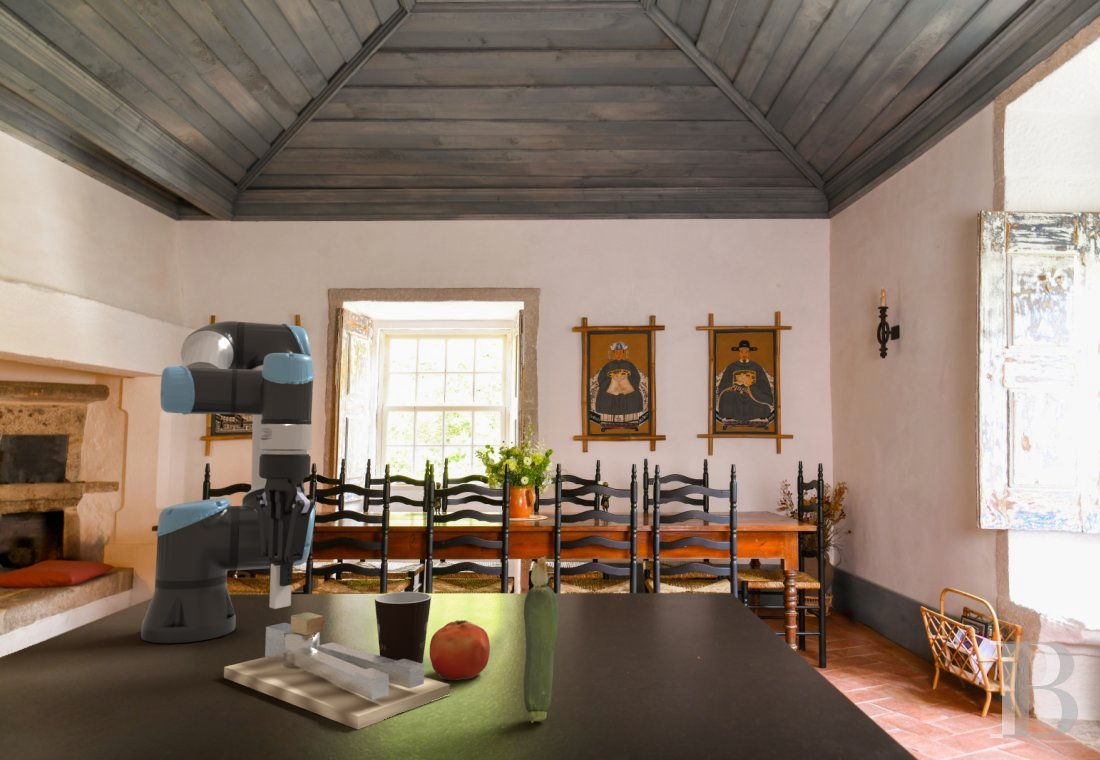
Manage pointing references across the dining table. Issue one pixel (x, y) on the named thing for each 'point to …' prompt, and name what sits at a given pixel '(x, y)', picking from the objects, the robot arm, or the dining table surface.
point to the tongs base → (339, 655)
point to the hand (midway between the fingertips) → (280, 606)
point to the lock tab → (307, 623)
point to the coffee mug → (402, 624)
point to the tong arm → (344, 673)
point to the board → (330, 692)
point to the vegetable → (539, 642)
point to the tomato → (459, 650)
